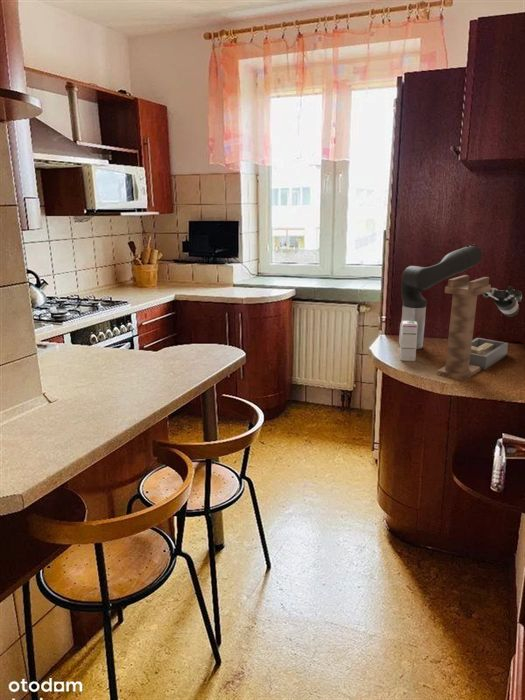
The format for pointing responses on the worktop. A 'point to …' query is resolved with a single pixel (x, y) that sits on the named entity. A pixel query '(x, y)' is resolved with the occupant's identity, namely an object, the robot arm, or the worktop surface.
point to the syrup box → (408, 340)
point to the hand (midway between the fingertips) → (497, 286)
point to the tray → (491, 357)
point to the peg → (482, 349)
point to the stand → (462, 325)
